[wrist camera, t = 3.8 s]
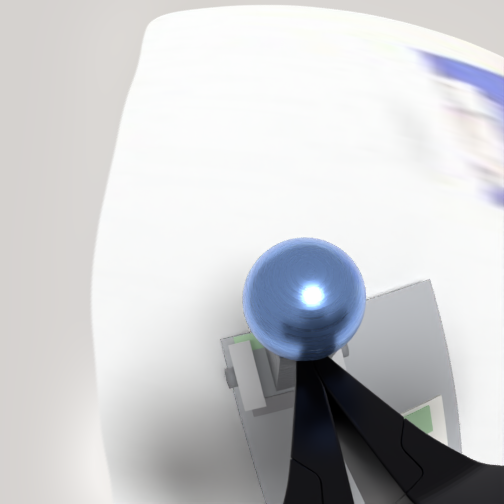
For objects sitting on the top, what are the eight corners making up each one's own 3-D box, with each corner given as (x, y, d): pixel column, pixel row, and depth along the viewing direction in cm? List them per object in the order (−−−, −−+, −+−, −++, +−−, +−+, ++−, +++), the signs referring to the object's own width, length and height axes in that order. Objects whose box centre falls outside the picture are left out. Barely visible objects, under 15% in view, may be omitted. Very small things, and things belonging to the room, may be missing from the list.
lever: (325, 385, 14) (403, 316, 6) (266, 402, 14) (256, 361, 5) (308, 331, 16) (349, 201, 7) (252, 346, 16) (223, 228, 7)
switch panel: (454, 455, 15) (482, 467, 12) (274, 525, 14) (279, 555, 11) (422, 282, 18) (451, 270, 15) (222, 339, 17) (215, 339, 14)
